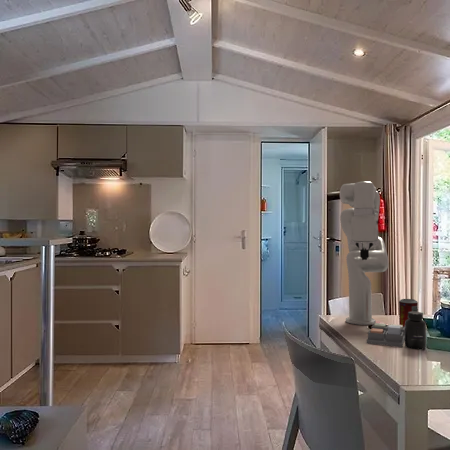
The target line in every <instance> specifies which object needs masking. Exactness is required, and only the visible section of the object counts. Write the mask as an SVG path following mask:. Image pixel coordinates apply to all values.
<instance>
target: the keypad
mask: <svg viewBox="0 0 450 450" xmlns="http://www.w3.org/2000/svg"><path fill="white" fill-rule="evenodd" d="M389 325H390V324H386V328H382V327H374V324H372V326H371V329H372V328H375V329H383V334H381V333H371V329H369V331H368V332H367V339H366V344H367V345H368V344H370V345H380V346H391V347H401V348H403V346H404V344H405V326H403V329H401V334H400V335H392V334H388V326H389Z"/></svg>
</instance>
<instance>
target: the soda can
mask: <svg viewBox="0 0 450 450" xmlns="http://www.w3.org/2000/svg"><path fill="white" fill-rule="evenodd" d="M418 306H419V302H418V301H417V299H413V298H402V299H400V300H399V301H398V310H399V311H398V312H399V313H398V314H399V317H398V319H399V321H398V322H399V324H398V325H403V326H405V321H406V320H407V319H409V318H408V312H411V311H414V312H419V307H418Z"/></svg>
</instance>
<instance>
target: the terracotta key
mask: <svg viewBox="0 0 450 450" xmlns="http://www.w3.org/2000/svg"><path fill="white" fill-rule="evenodd" d="M371 333H381V334H383V329H375V328H372V327H371Z"/></svg>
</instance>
